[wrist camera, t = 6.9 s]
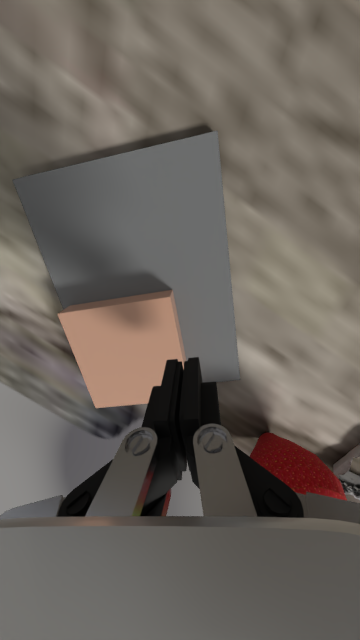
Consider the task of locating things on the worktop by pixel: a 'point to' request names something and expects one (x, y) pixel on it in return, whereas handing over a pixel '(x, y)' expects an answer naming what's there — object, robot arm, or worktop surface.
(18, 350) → the worktop surface
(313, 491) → the strawberry
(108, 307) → the tile
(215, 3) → the worktop surface
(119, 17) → the worktop surface
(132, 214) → the mat
